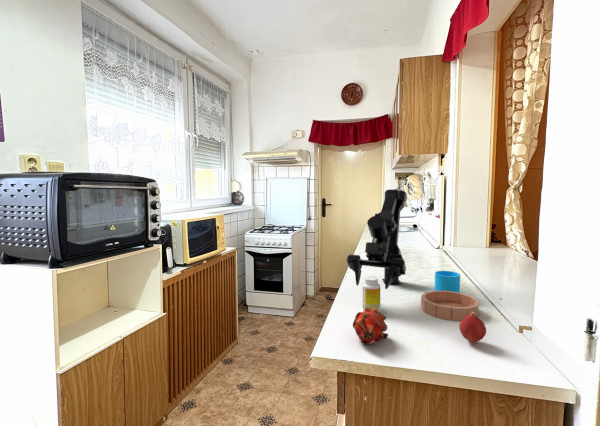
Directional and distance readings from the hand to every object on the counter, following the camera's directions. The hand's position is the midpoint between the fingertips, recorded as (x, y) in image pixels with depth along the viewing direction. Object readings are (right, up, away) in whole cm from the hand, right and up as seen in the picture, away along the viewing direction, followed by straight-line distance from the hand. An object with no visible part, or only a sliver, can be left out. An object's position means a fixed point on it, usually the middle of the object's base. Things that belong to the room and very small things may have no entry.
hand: (371, 286), depth 101 cm
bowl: (+24, -7, -1) cm, 25 cm away
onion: (+20, -9, -22) cm, 31 cm away
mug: (+31, -6, +14) cm, 34 cm away
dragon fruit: (-5, -9, -20) cm, 22 cm away
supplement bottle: (0, -8, +1) cm, 8 cm away
